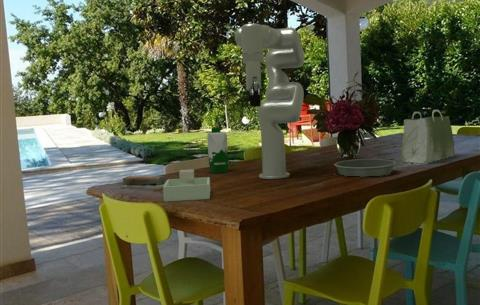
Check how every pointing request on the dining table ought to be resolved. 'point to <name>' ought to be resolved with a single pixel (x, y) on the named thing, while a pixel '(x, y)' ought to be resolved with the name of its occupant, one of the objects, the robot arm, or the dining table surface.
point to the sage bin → (186, 190)
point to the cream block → (187, 177)
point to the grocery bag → (426, 139)
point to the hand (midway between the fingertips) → (255, 106)
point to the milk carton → (217, 151)
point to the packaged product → (143, 182)
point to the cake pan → (365, 167)
